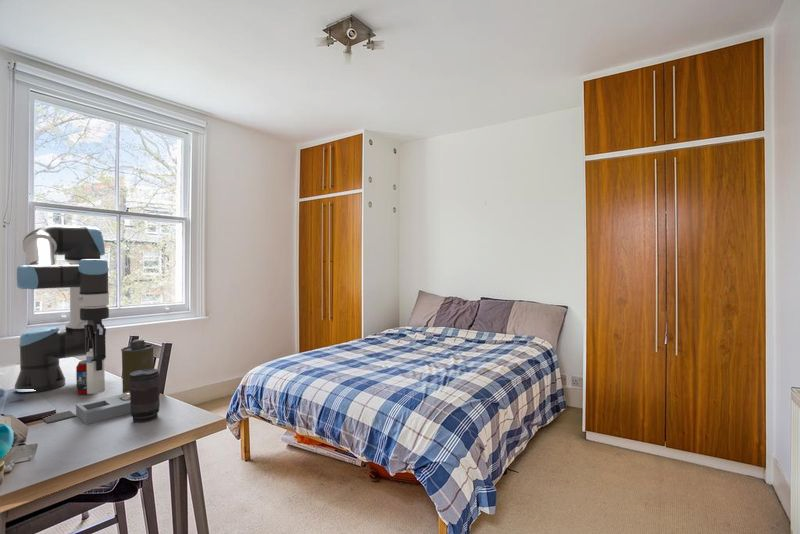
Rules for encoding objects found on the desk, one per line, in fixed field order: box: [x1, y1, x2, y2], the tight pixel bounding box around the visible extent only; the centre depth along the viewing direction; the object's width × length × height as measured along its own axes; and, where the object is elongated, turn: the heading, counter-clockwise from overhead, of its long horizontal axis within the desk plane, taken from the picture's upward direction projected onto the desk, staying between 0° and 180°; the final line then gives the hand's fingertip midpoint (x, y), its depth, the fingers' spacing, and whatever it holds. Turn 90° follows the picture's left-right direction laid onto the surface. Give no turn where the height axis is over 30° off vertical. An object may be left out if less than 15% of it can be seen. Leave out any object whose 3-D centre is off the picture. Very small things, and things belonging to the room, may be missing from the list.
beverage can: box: [75, 360, 88, 396], centre depth 155 cm, size 7×7×12 cm
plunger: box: [121, 392, 130, 401], centre depth 138 cm, size 4×4×4 cm
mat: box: [42, 410, 77, 424], centre depth 130 cm, size 7×7×1 cm
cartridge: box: [85, 348, 106, 395], centre depth 131 cm, size 5×5×14 cm
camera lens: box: [129, 368, 161, 423], centre depth 129 cm, size 8×8×15 cm
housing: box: [75, 393, 131, 425], centre depth 134 cm, size 12×16×4 cm
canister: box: [120, 339, 155, 394], centre depth 154 cm, size 11×10×20 cm
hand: (95, 378), depth 131 cm, fingers closed on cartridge, 5 cm apart
